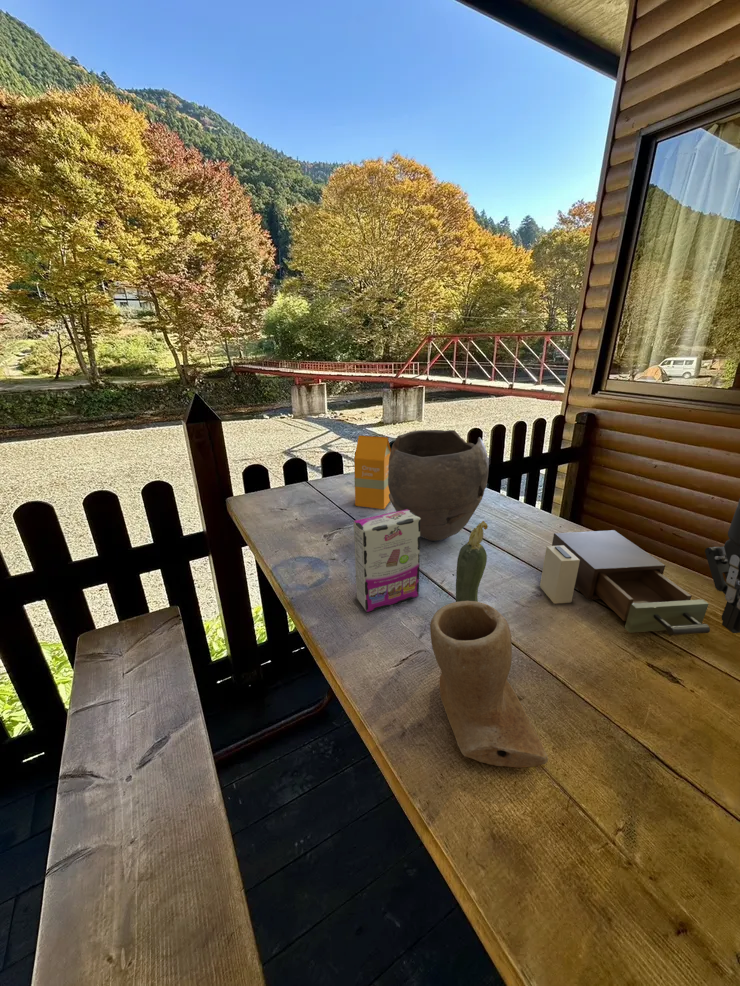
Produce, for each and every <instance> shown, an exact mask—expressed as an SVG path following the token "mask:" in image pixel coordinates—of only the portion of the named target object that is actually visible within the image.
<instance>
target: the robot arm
mask: <svg viewBox="0 0 740 986" xmlns="http://www.w3.org/2000/svg"><path fill="white" fill-rule="evenodd" d="M727 537H728V539H727V540H726V541H725V542H724V545H722V546H712V547H711V546H710V547H706V548H705V549H704V553H705V557H706V560H707V563H708V567H709V571H710V574H711V577H712V580H713V585H714V587H715V590H717V592H718V591H719V592H722V593H723V594H724V595H725V596H724V598H725V601H726V603H725V606H724V609H723V612H722V614H721V621H722V623H721V625H722V626H723V627H724V628H725V629H727V630H728V631H729V632H731V633H732V634H740V499H739V500H738V503H737V505H736V508H735V511H734V514H733V516H732V520H731V522H730V525H729V528H728V531H727ZM724 577H725V578H724Z"/></svg>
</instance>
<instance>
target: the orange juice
mask: <svg viewBox="0 0 740 986" xmlns="http://www.w3.org/2000/svg"><path fill="white" fill-rule="evenodd" d="M390 453H391V446H390V441H389V437H388V436H375V435H360V434H359V435H358V437H357V443H356V448H355V453H354V456H353V463H354V464H353V467H354V505H355V507H361V508H370V509H379V510H385V509H386V507H387V506H388V504H389V503H391V501H390V499H389V494H390V491H389V487H388V472H389V470H388V466H389V457H390Z"/></svg>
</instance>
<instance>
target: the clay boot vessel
mask: <svg viewBox="0 0 740 986" xmlns="http://www.w3.org/2000/svg"><path fill="white" fill-rule="evenodd" d="M429 629H430V642H431V647H432V652H433V654H434V657H435V660H436V662H437V665H438V667H439V669H440V671H441V674H440V676H439V679H438V684H439V685H438V686H439V695H440V700H441V703H442V706H443V708H444V712H445V713H446V716H447V720H448V722H449V725H450V727H451V731H452V732H453V736H454V738H455V741H456V744H457V746H458V749H459V751H460V753H461V754H462V755H463V756H464V757H465V758H470V759H472V760H474V761H477V762H479V763H481V764H483V763H484V764H487V765H492V766H496V767H507V768H517V769H518V768H533V767H537V766H543V765H546V764H547V763H548V762H549V756H548V753H547V751H546V750H545V747H544V745H543V743H542V741H541V739H540V737H539V735H538V733H537V731H536V729H535V727H534V725H533V724H532V721H531V720H530V718H529V717H528V714H527V713H526V710H525V708H524V706H523V705H522V703H521V701H520V699H519V697H518V696H517V694H516V692H515V690H514V689H513V687H512V686H511V684H510V682H509V681H508V680H507V679H508V676H509V674H510V672H511V668H512V658H513V647H512V644H513V642H512V632H511V629H510V625H509V623H508V622H507V619H506V618H505V617H504V615H503V614H501V613H500V612H499V611H498V610H497V609H495V607H493V606H491V605H489V604H487V603H484V602H480V601H478V602H476V601H459V602H456V601H453V602H450V603H448V604H445V605H443V606H441V607H440V608H438V609H437V611H436V612H435V613H434V614H433V616H432V618H431V619H430V624H429Z"/></svg>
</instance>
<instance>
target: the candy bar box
mask: <svg viewBox="0 0 740 986" xmlns="http://www.w3.org/2000/svg"><path fill="white" fill-rule="evenodd" d="M420 519H421V518H420V517H418V516H417V515H415V514H414V513H412V512H411V511H410V510H408V509H406V510H402V511H397V512H396V511H392V512H388V513H383V514H379V515H374V516H369V517H364V518H361V519H356V520H353V537H354V538H353V539H354V562H355V564H354V567H355V590H356V600H357V601H358V603H359V604H360V605H361V606H362V608H363V609H364V611H365V612H366V613H370V612H372V611H376V610H379V609H383V608H385V607H388V606H391V605H394V604H395V605H396V604H397V603H402V602H404V601H407V600H410V599H413V598H417V597H419V595H420V594H419V593H420V557H421V556H420V555H421V554H420V553H421V536H420Z"/></svg>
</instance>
